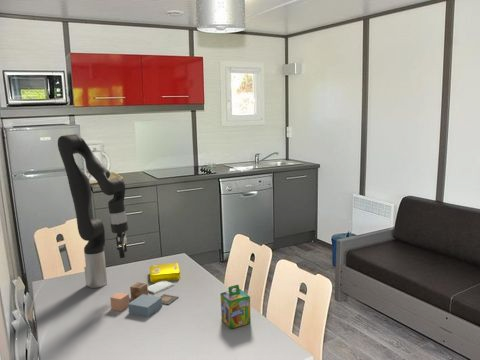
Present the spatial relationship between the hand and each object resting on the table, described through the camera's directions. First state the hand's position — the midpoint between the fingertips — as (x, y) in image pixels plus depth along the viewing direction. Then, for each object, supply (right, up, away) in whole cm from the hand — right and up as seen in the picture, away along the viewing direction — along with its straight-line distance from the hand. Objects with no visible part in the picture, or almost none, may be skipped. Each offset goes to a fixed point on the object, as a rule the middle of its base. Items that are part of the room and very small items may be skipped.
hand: (123, 254), depth 195 cm
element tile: (+16, -15, +21) cm, 30 cm away
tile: (+21, -19, -8) cm, 30 cm away
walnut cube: (+8, -19, -3) cm, 21 cm away
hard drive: (+15, -18, +6) cm, 24 cm away
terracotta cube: (+2, -21, -13) cm, 25 cm away
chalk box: (+53, -22, -29) cm, 64 cm away
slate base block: (+14, -21, -16) cm, 30 cm away
